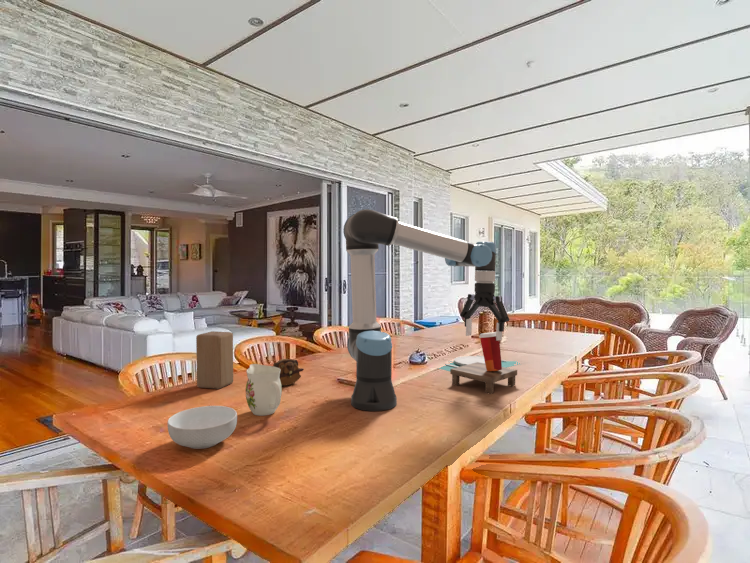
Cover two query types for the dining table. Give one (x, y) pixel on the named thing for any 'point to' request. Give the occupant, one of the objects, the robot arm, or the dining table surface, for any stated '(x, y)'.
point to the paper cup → (491, 351)
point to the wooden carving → (288, 371)
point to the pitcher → (263, 389)
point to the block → (214, 359)
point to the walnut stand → (483, 375)
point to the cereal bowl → (202, 426)
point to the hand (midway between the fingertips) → (483, 337)
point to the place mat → (473, 359)
